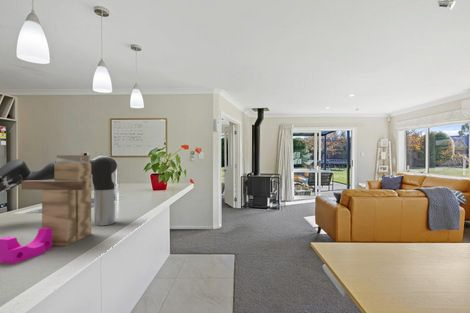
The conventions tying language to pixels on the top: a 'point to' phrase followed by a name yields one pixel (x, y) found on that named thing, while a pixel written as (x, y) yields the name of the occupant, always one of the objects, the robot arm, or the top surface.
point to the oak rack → (68, 201)
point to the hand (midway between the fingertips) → (11, 177)
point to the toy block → (25, 247)
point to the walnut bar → (53, 185)
